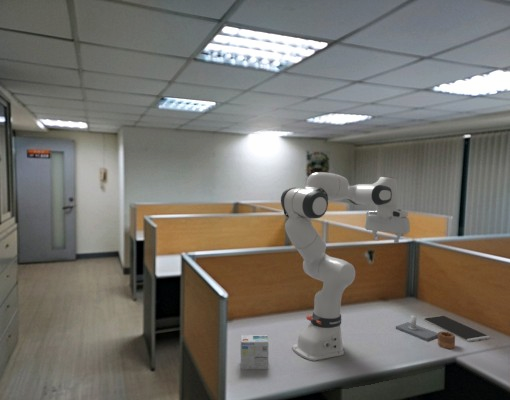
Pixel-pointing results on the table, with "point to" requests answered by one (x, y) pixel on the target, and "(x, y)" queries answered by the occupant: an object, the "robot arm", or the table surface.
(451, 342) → the ring
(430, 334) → the post stand
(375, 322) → the table surface
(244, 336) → the light bulb box
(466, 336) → the smartphone
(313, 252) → the robot arm
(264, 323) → the table surface
